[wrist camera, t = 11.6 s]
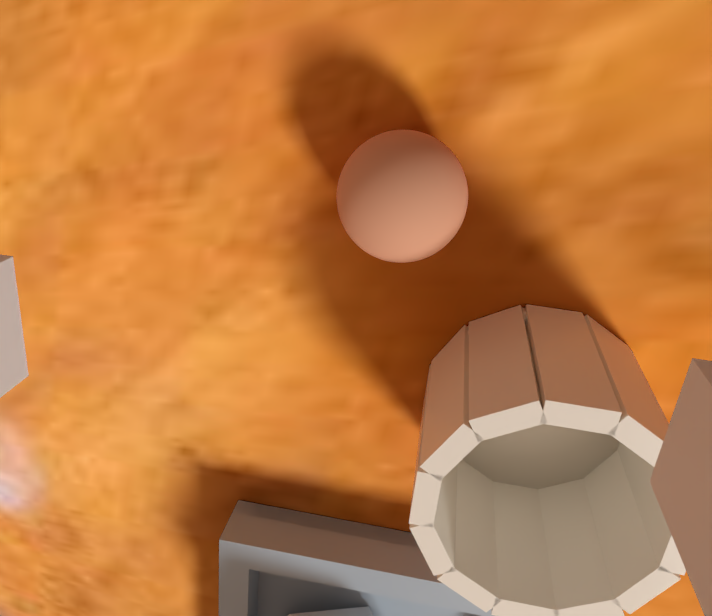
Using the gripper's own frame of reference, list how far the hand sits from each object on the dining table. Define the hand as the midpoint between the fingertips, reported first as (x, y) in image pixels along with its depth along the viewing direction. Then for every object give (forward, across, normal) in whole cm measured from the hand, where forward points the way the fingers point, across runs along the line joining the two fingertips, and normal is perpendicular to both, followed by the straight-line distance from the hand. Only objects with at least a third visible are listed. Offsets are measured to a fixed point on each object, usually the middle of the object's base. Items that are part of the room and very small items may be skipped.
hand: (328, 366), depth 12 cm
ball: (+16, 0, 0) cm, 16 cm away
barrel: (+16, +7, -9) cm, 20 cm away
